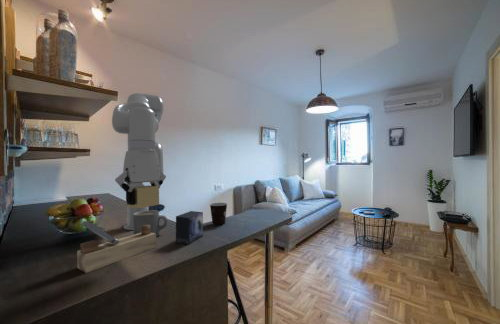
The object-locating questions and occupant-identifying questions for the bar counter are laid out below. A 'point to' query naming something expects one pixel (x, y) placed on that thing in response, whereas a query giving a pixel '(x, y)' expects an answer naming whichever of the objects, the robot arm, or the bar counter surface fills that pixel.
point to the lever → (100, 232)
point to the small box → (189, 227)
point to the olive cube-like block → (145, 196)
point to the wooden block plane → (114, 250)
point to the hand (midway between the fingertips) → (143, 202)
